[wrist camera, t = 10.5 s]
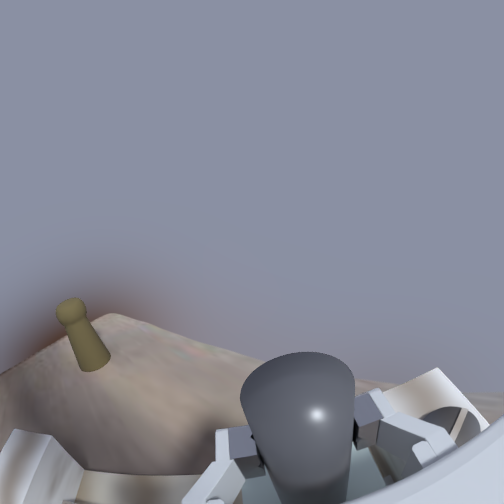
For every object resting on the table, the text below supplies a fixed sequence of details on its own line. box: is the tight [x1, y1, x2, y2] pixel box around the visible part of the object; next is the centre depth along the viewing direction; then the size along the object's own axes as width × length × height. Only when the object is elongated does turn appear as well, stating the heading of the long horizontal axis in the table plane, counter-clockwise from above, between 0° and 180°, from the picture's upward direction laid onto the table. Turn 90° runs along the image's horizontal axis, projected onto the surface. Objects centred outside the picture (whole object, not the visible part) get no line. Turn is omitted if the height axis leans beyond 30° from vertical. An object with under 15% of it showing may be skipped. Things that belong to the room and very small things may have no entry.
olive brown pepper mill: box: [56, 298, 111, 372], centre depth 38 cm, size 6×6×11 cm
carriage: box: [240, 352, 386, 504], centre depth 10 cm, size 8×10×14 cm
